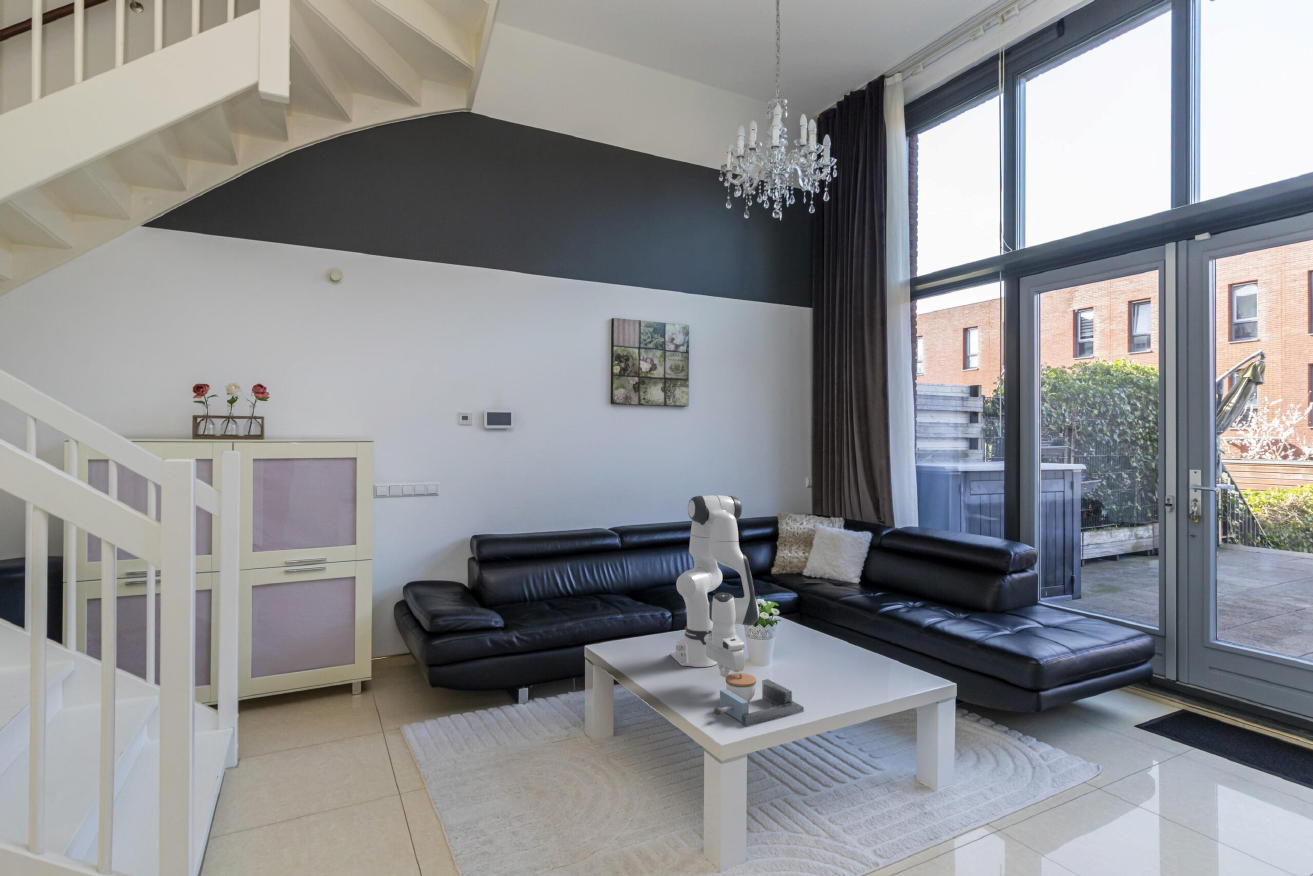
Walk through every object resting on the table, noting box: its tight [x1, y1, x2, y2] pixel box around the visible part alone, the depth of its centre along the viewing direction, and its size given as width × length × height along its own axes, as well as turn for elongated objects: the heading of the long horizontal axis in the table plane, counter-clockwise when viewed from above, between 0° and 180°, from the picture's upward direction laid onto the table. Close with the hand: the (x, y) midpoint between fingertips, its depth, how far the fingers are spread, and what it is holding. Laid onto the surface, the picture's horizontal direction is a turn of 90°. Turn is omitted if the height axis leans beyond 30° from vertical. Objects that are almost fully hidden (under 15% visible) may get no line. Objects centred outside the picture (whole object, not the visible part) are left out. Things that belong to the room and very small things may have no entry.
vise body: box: [741, 678, 805, 728], centre depth 223 cm, size 16×24×6 cm, turn 118°
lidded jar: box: [725, 672, 757, 704], centre depth 232 cm, size 11×11×9 cm
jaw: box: [713, 688, 750, 723], centre depth 218 cm, size 13×10×6 cm
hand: (724, 676), depth 241 cm, fingers closed
